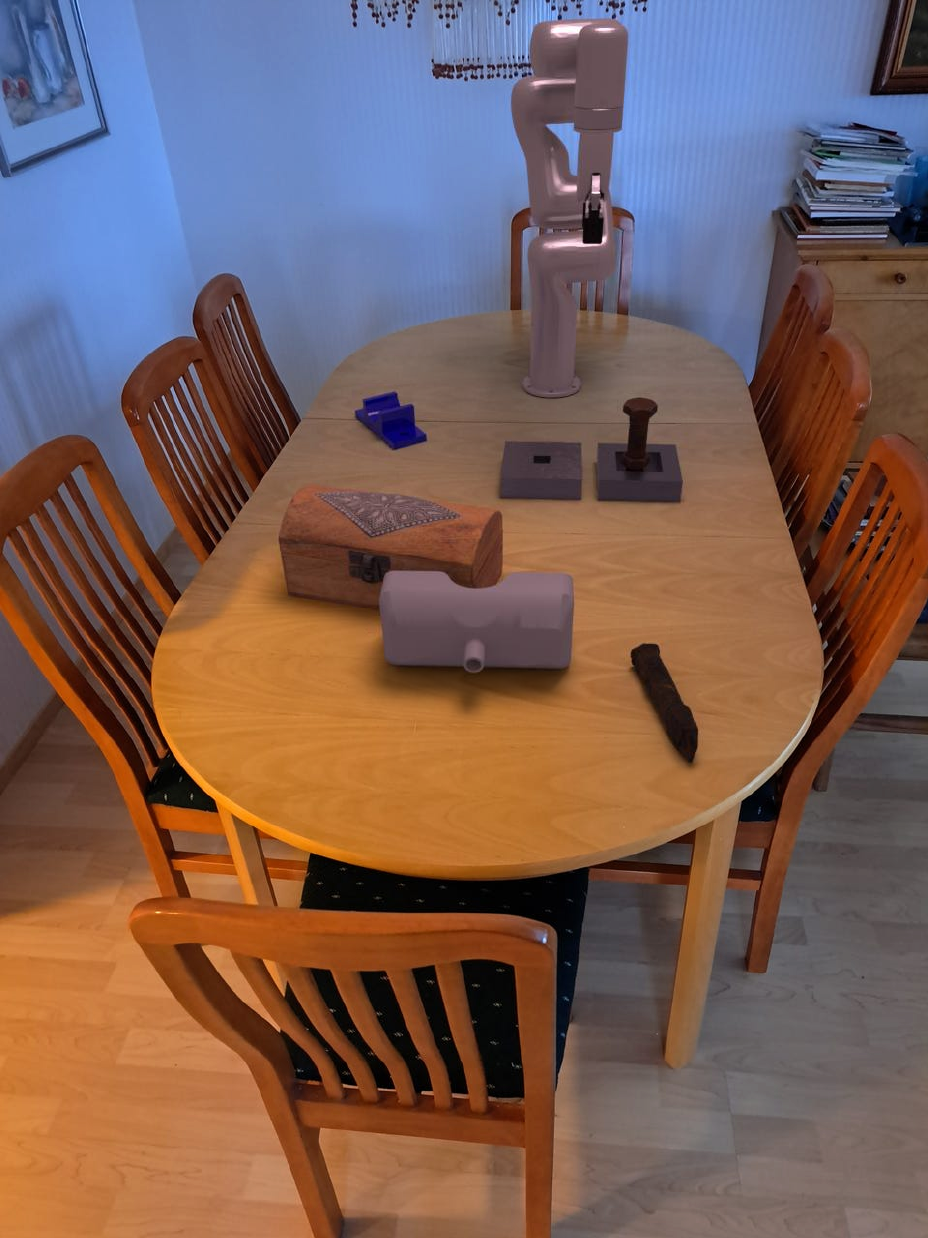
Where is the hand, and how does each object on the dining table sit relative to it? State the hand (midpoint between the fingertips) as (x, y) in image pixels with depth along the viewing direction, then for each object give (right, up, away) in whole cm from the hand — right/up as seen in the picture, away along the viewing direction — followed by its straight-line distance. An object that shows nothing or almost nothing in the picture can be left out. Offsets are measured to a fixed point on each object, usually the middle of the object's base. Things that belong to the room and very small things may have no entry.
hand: (591, 235), depth 150 cm
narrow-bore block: (-7, -39, +13) cm, 41 cm away
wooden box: (-32, -59, -12) cm, 68 cm away
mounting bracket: (-36, -26, +32) cm, 55 cm away
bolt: (+9, -40, +11) cm, 42 cm away
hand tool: (+5, -76, -36) cm, 84 cm away
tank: (-19, -70, -27) cm, 78 cm away
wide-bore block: (+10, -39, +11) cm, 42 cm away
